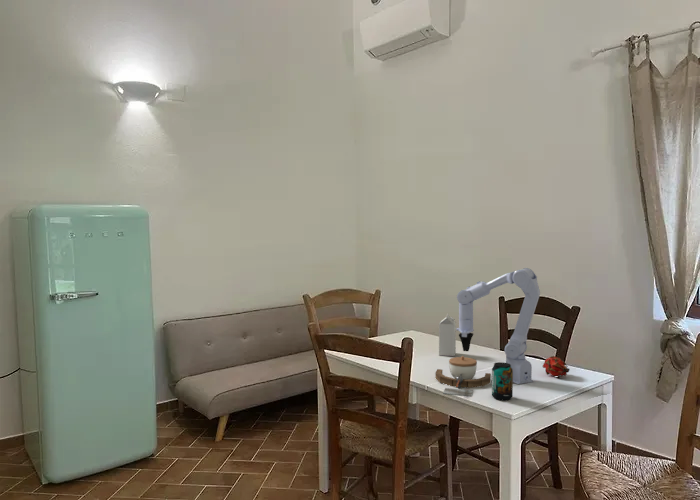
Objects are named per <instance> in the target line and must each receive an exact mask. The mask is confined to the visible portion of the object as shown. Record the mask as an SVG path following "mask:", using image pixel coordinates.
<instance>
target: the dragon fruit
mask: <svg viewBox="0 0 700 500" xmlns="http://www.w3.org/2000/svg"><path fill="white" fill-rule="evenodd" d="M542 368H544V369H545V374H546V375H547V376H548V375H551V376H552V377H554V376H558V377H561V376H565V377H566V375H567V373H569V372H570V371H571V370H570V368H569V366H568V365H567V363H566V362H565V361H564V360H562V359H561V358H560V357H558V356H554V355H553V356H549V357H547V358H546V359H545V360H544V362H543V364H542ZM560 375H561V376H560Z"/></svg>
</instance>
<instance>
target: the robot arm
mask: <svg viewBox="0 0 700 500" xmlns="http://www.w3.org/2000/svg"><path fill="white" fill-rule="evenodd" d="M506 284H510V285H513V284H515V285H516V286H517V287H518V288H520V289H521V291H522V293H523V294H524V299H523V303H522V305H521V308H520V311H519V315H518V318H517V321H516V324H515V328H514V330H513V333H512V335H511V336H510V339H509V340H508V342H507V344H506V345H505V346H504V353H505V355H506V358H505V363H508V364H510V365H511V368H512V370H513V383H514V384H516V385H522V384H526V383H533V381H534V379H532V373H533V372H532V371H533V370H532V363H531V362H530V361H529V360H527V359H526V355H525V352H526V351H527V348H528V345H527V341H528V333H529V331H530V330H529V329H530V327H531V324H532V320H533V317H534V314H535V311H536V307H537V305H538V302H539V299H540V295H541V290H540V287H539V283H538V276H537V274H536V273H535V272H534V271H533V270H532V269H531V268H528V267H524V268H522V269H517V270H514V271H511V272H507V273H504V274H502V275H500V276H499V277H496V278H494V279H492V280H490V281H488V282H485V281H481V280H480V281H479V280H478V281H477V282H476V284H474V285H472V286H467V287H466V288H465V289H461V290H460V291H458V292H457V295H456V300H457V302H458V327H456V331H458V332H460V333H458V337H459V339H460V342H461V346H462V351H463V352H469V351H470V347H471V341H472V338H473V336H474V331H475V330H474V301H477V300H479V299H481V298H484V297H486V296H488V295H490V293H491V290H493V289H494V290H495V288H498V287H501V286H503V285H506Z"/></svg>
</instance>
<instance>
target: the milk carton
mask: <svg viewBox="0 0 700 500" xmlns="http://www.w3.org/2000/svg"><path fill="white" fill-rule="evenodd" d="M456 323H457V322H456V321H455V318H454V317H453V316H450V315H449V313H447V314H446V315H445V317H444V318H443V319H441V321H440V322H439V324H438V356H444V357H445V356H446V357H455V355H456V352H457V351H456V348H457V347H456V345H457V343H456V340H457V338H456V337H457V332H456V331H457V330H456V328H457V326H456V325H457V324H456Z"/></svg>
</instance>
